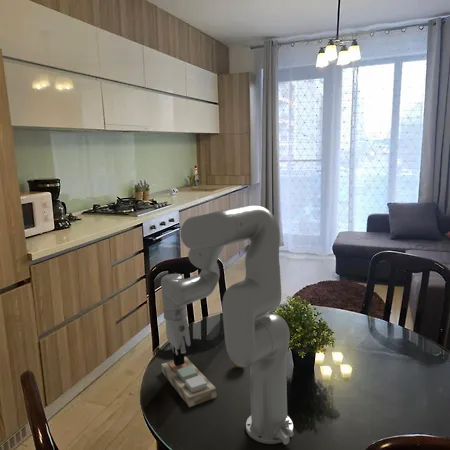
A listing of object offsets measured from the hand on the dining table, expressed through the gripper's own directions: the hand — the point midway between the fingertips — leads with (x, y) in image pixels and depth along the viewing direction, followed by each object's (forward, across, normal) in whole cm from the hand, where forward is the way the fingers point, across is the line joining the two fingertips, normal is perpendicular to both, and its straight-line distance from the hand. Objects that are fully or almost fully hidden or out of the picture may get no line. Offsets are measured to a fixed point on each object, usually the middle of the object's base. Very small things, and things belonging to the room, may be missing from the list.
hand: (179, 363), depth 138 cm
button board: (+4, -6, 0) cm, 8 cm away
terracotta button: (+3, 0, 0) cm, 3 cm away
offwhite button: (+2, -14, 0) cm, 14 cm away
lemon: (+4, -7, -19) cm, 21 cm away
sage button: (+2, -7, 0) cm, 7 cm away
